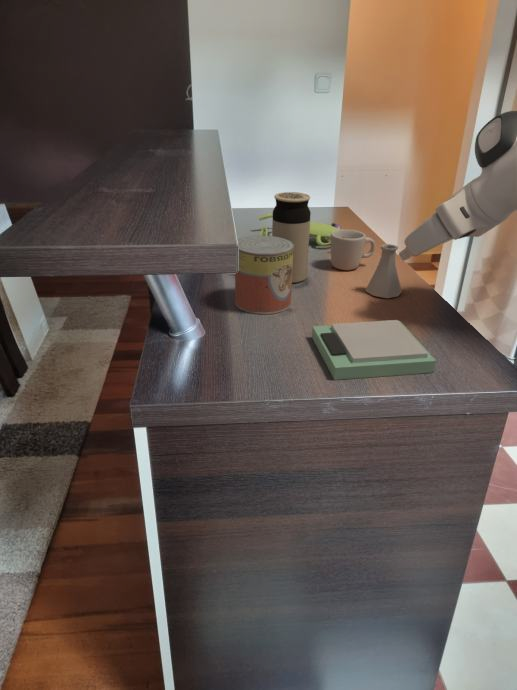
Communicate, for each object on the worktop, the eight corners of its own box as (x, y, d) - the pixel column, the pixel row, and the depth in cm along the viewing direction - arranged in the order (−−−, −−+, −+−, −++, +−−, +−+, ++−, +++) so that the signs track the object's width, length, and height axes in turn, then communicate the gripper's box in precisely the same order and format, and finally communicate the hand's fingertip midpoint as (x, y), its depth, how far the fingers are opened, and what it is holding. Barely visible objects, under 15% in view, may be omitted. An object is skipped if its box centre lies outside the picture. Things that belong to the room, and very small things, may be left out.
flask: (358, 291, 108) (364, 245, 103) (379, 283, 113) (385, 238, 108) (387, 302, 104) (394, 254, 99) (407, 293, 108) (415, 246, 103)
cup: (366, 260, 126) (370, 228, 122) (378, 271, 119) (382, 237, 115) (323, 262, 124) (326, 229, 120) (333, 273, 117) (336, 239, 114)
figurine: (261, 227, 150) (262, 208, 147) (353, 234, 145) (355, 214, 143) (247, 246, 134) (247, 225, 132) (350, 254, 130) (352, 233, 127)
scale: (398, 332, 92) (400, 317, 90) (433, 372, 80) (437, 356, 78) (311, 337, 90) (312, 322, 88) (334, 380, 78) (335, 363, 76)
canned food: (265, 319, 96) (266, 258, 90) (223, 302, 102) (222, 244, 97) (302, 302, 103) (306, 244, 97) (261, 287, 110) (262, 232, 104)
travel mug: (284, 286, 110) (287, 201, 102) (264, 275, 116) (265, 194, 108) (313, 279, 114) (319, 197, 105) (292, 268, 120) (296, 190, 111)
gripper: (489, 186, 97) (432, 227, 107) (437, 204, 84) (378, 248, 94) (507, 214, 96) (448, 252, 107) (457, 237, 83) (396, 278, 94)
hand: (415, 251), depth 100 cm, fingers open, 8 cm apart
